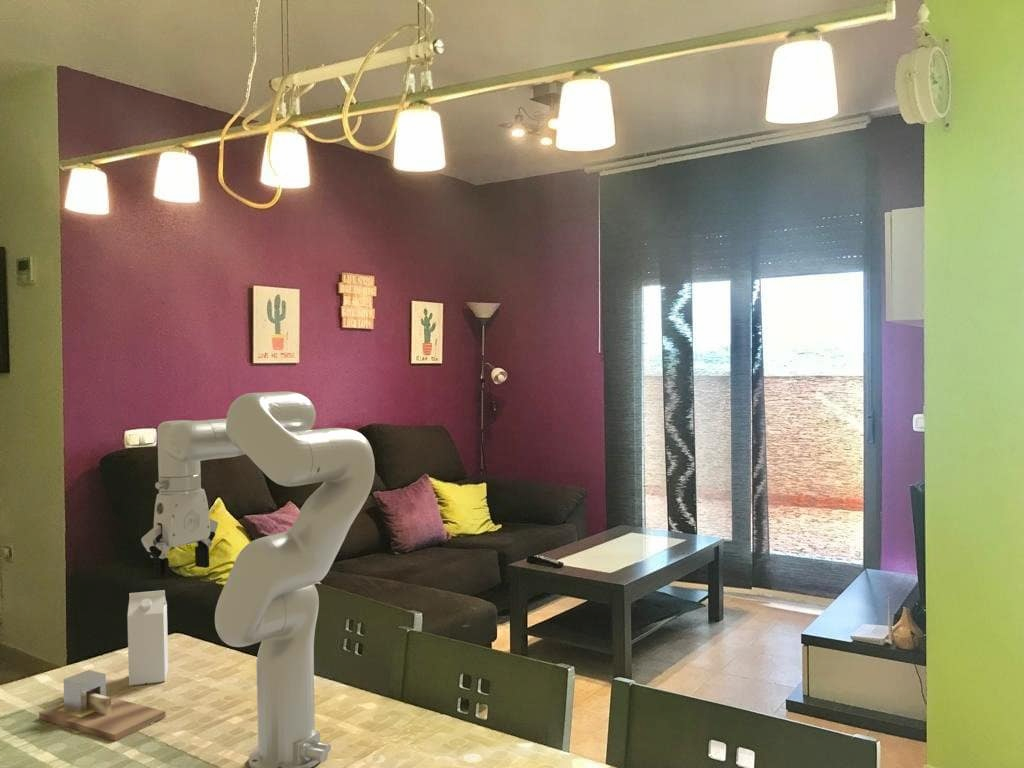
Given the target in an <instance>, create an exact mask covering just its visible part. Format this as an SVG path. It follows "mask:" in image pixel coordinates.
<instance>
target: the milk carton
mask: <svg viewBox="0 0 1024 768" xmlns="http://www.w3.org/2000/svg"><path fill="white" fill-rule="evenodd" d="M128 596H129V597H128V598H129V600H128V606H127V617H126V618H127V652H128V653H127V654H128V658H127V659H128V684H129V686H139V685H146V684H145V683H147V684H154V683H163V681H164V682H166V679H167V675H168V671H169V640H168V639H169V638H168V602H167V598H166V591H165V589H163V590H161V589H160V590H153V591H140V592H130V593H129V594H128Z"/></svg>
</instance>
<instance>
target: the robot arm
mask: <svg viewBox="0 0 1024 768" xmlns="http://www.w3.org/2000/svg"><path fill="white" fill-rule="evenodd" d="M316 417H317V412H316V409H315V406H314V404H313V402H312V401H311V400H310V399H309V398H308V397H307V396H305V395H303V394H301V393H299V392H295V391H267V392H266V391H264V392H249V393H245V394H242V395H240V396H238V397H236V399H234V401H232V403H231V404H230V405H229V408H228V410H227V413H226V418H217V419H215V418H214V419H213V418H212V419H204V420H203V419H202V420H201V419H200V420H191V419H190V420H189V419H187V420H186V419H184V420H183V419H181V420H168V421H163V422H160V423H159V424H158V427H157V432H156V434H157V457H158V458H157V467H158V481H156V482H155V484H154V486H155V488H156V489H157V490H158V493H157V494H156V499H155V503H154V513H153V514H154V516H153V527H152V528H151V529H150V530H149V531H148V532H147V533H146V534H144V535H143V536H142V537H141V539H140V541H141V544H142V546H143V547H144V549H145V551H146V552H147V553H148V554H149V555H150V558H151V559H152V558H153V571H154V572H153V573H154V579H159V580H169V578H170V570H169V569H170V568H169V567H170V563H169V558H168V557H167V555H168V553H169V551H170V550H171V547H174V548H175V547H177V548H178V547H182V546H186V545H189V544H194V543H195V544H196V546H194V563H195V565H194V566H195V567H197V568H204V569H205V568H207V569H208V568H209V567H210V547H211V546H212V544H213V543H212V542H213V540H214V538H215V536H216V532H217V529H218V525H219V522H218V521H216V520H213V519H212V518H210V510H209V503H208V498H207V495H206V494H207V493H206V491H205V488H202V484H201V483H202V476H201V461H207V460H217V459H226V458H234V457H238V456H243V455H244V456H245V455H246V456H247V457H248V458H249V459H250V460H251V461H252V462H253V463H254V464H255V465H256V466H257V468H258V469H260V470H261V472H263V474H264V475H265V476H266V477H268V479H270V480H271V481H273V482H274V483H276V484H277V485H280V486H283V487H299V486H304V485H310V484H316V483H322V484H321V485H320V486H319V487H318V488H316V490H315V491H313V493H312V494H311V495H310V496H309V497H308V498H307V499H306V500H305V502H304V503H303V505H302V506H301V508H300V510H299V512H298V515H297V516H296V519H295V520H294V522H293V524H292V526H291V527H290V528H288V529H287V530H285V531H283V532H279V533H276V534H271V535H266V536H263V537H259V538H256V539H254V540H251V541H250V542H249V543H247V544H246V545H245V546H244V547H243V548H242V549H241V550H240V552H239V553H238V554H237V556H236V559H235V560H234V563H233V565H232V568H231V570H230V573H229V574H228V576H227V579H226V581H225V584H224V585H223V587H222V590H221V593H220V595H219V596H218V597H219V598H218V600H217V603H216V606H215V612H214V625H215V626H214V627H215V630H216V632H217V634H218V635H217V636H218V637H219V638H220V640H221V641H222V642H223V643H225V644H226V645H227V646H230V647H234V648H235V647H236V648H242V647H243V648H244V647H249V646H251V645H255V644H258V643H260V645H259V649H258V652H257V655H256V704H257V705H256V706H257V708H256V709H257V712H256V713H257V716H256V717H257V746H256V747H255V748H254V749H252V750H251V752H250V753H249V756H248V765H249V766H248V767H250V768H313V767H315V766H316V765H318V764H319V763H322V764H323V763H324V762H326V761H327V759H328V755H329V753H330V751H331V749H332V746H331V745H332V744H330V743H326V742H322V741H321V736H320V735H321V733H320V732H321V731H319V730H316V723H315V722H316V719H315V717H316V716H315V713H316V712H315V664H314V663H315V659H314V658H315V656H314V655H315V653H314V650H315V646H314V645H315V632H316V624H317V621H318V620H317V619H318V616H319V615H318V614H319V607H320V601H319V599H320V597H319V592H318V589H317V588H316V585H315V584H317V583H319V582H320V581H323V579H324V578H325V577H326V576H327V574H328V572H329V571H330V569H331V567H332V565H333V563H334V561H335V559H336V557H337V555H338V553H339V551H340V549H341V547H342V545H343V543H344V541H345V538H346V537H347V535H348V532H349V530H350V529H351V526H352V524H353V523H354V521H355V519H356V518H357V517H358V514H359V513H360V511H361V509H362V508H363V506H364V505H365V503H366V501H367V499H368V497H369V495H370V493H371V490H372V487H373V484H374V479H375V471H376V468H375V467H376V466H375V465H376V463H375V456H374V453H373V448H372V446H371V444H370V442H369V440H368V439H367V437H365V436H364V434H362V433H361V432H359V431H357V430H354V429H351V428H344V427H328V428H327V427H326V428H325V427H324V428H317V429H312V428H313V427H314V425H315V422H316Z"/></svg>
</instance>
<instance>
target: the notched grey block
mask: <svg viewBox="0 0 1024 768" xmlns="http://www.w3.org/2000/svg"><path fill="white" fill-rule="evenodd" d="M106 677H107V676H106V673H102V672H99V671H95V670H90V669H88V670H85V671H82V672H80V673H77V674H74V675H72V676H69V677H66V678H64V679H63V703H64V710H67V711H70V712H74V713H78V714H83V713H86V712H87V701H86V692H87V691H88V692H92V693H96V694H100V695H103V696H107V686H106V685H107V684H106V683H107V682H106V679H107V678H106Z"/></svg>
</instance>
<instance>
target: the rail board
mask: <svg viewBox="0 0 1024 768" xmlns="http://www.w3.org/2000/svg"><path fill="white" fill-rule="evenodd" d="M86 701H87V712H86V713H83V714H78V713H74V712H70V711H67V710H64V702H62V703H60V704H57V705H55V706H52V707H50V708H46V709H44V710H42V711H40V712H38V716H39V717H38V718H39V720H42V721H47V722H49V723H53V724H57V725H59V726H62V727H66V728H69V727H70V729H72V728H73V730H76V729H77V730H76V731H79V730H81V731H80V732H82V733H86V732H87V734H89V733H90V735H93V736H96V735H97V737H99V736H101V737H100V738H103V737H104V738H103V739H106V738H108V739H107V740H110V739H111V741H113V740H114V742H116V740H117V741H118V739H119V740H121V739H123V738H125V737H127V735H128V736H129V734H130V735H132V734H134V733H136V732H138V731H140V730H142V729H144V728H143V727H145V726H147V725H149V724H151V723H153V722H155V721H157V720H159V719H162V718H164V717H166V716H167V713H166V712H167V711H166V710H161V709H157V708H154V707H151V706H147V705H142V704H138V703H134V702H132V701H126V700H123V699H120V698H116V697H112V696H109V695H108V696H107V695H106V696H103V695H100V694H96V693H92V692H88V691H87V692H86ZM164 719H165V718H164ZM162 720H163V719H162ZM159 721H160V720H159ZM157 722H158V721H157ZM155 723H156V722H155ZM153 724H154V723H153ZM151 725H152V724H151ZM149 726H150V725H149ZM147 727H148V726H147ZM141 728H142V729H141ZM145 728H146V727H145ZM137 730H138V731H137ZM133 732H134V733H133ZM131 733H132V734H131ZM122 737H123V738H122Z"/></svg>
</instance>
